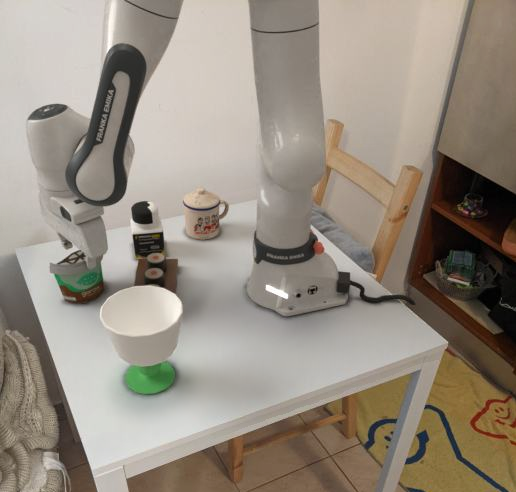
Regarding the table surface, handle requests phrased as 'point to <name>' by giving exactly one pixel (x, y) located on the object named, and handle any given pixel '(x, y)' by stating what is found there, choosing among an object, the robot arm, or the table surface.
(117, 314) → the cup
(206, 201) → the teacup with lid
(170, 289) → the sushi board
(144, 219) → the medicine bottle
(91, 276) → the food container
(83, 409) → the table surface
